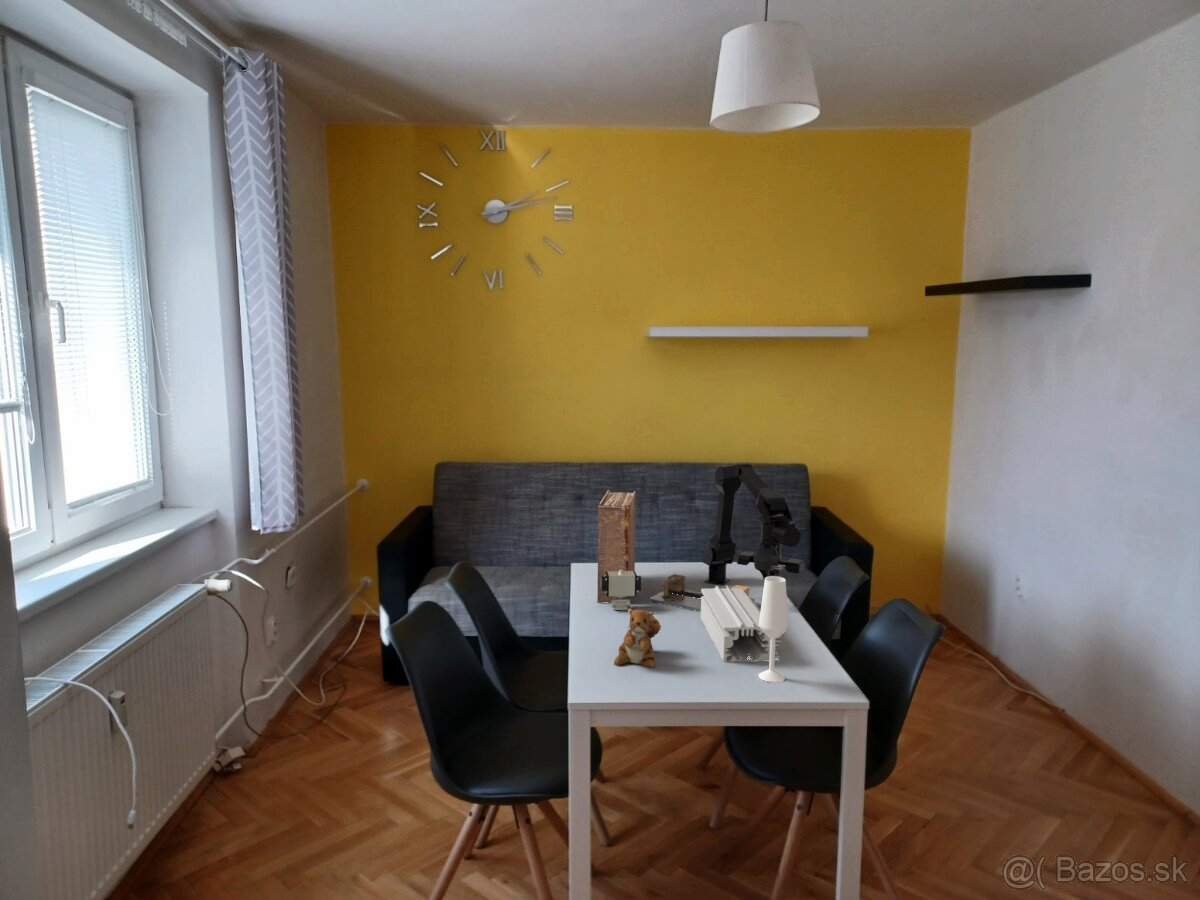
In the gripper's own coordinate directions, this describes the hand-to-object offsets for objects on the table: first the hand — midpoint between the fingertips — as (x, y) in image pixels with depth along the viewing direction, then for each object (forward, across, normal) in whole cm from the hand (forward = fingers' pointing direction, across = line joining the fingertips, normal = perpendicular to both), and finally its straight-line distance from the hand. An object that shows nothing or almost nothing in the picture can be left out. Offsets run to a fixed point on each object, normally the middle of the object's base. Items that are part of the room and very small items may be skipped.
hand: (769, 590), depth 232 cm
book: (+6, -47, -8) cm, 48 cm away
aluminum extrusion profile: (+7, 0, -25) cm, 26 cm away
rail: (+6, -19, 0) cm, 20 cm away
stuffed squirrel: (+6, -16, -51) cm, 54 cm away
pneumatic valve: (+6, -38, -22) cm, 44 cm away
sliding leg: (+5, -9, -3) cm, 11 cm away
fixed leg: (+5, -30, -3) cm, 30 cm away
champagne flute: (+6, +16, -45) cm, 48 cm away
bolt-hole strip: (+6, -21, -8) cm, 24 cm away
